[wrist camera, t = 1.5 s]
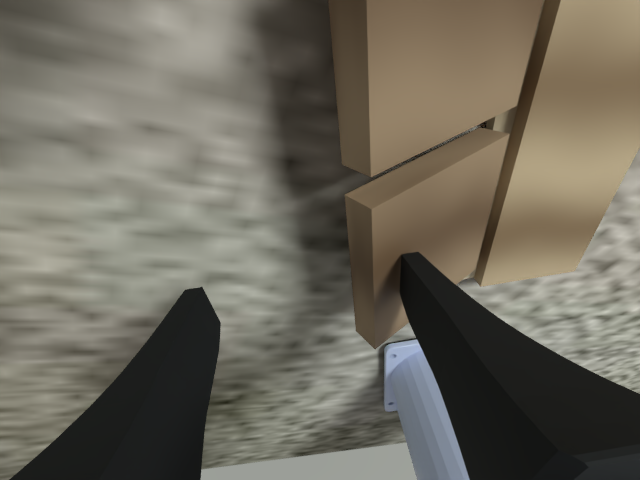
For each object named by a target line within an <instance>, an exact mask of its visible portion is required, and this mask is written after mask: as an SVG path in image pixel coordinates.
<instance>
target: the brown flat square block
mask: <svg viewBox="0 0 640 480" xmlns="http://www.w3.org/2000/svg"><path fill="white" fill-rule="evenodd" d="M509 135H510V134H509V133H504V132H499V131H495V130H490V129H485V128H480V127H479V128H477V129H475V130H473V131H471V132H469V133H467V134H465V135H463V136H461V137H459V138H457V139H455V140H453V141H451V142H449V143H447V144H445V145H443V146H441V147H439V148H437V149H435V150H433V151H431V152H429V153H427V154H425V155H423V156H421V157H419V158H417V159H415V160H413V161H411V162H409V163H407V164H405V165H403V166H401V167H399V168H397V169H395V170H393V171H391V172H389V173H387V174H385V175H383V176H381V177H379V178H377V179H375V180H373V181H371V182H369V183H367V184H365V185H363V186H361V187H359V188H357V189H355V190H353V191H351V192H349V193H347V194H345V205H346V217H347V229H348V241H349V253H350V265H351V277H352V288H353V300H354V312H355V324H356V331H357V332H358V333H359V334H360V335H361V336H362V337H363V338H364V339H365V340H366V341H367V342H368V343H369V344H370V345H371V346H372V347H373V348H374V349H376V348H377V347H379V346H380V345H381V344H382V343H384V342H385V341H386V340H387V339H389V338H390V337H391V336H392V335H394V334H395V333H396V332H397V331H399V330H400V329H401V328H402V327H404V326H405V325H406V324H407V323H409V320H408V318H407V315H406V312H405V309H404V306H403V303H402V300H401V296H400V273H401V254H407V253H413V252H419V253H421V254H422V255H423V256H424V257H425V258H426V259H427V260H428V261H429V262H431V263H432V264H433V265H434V266H435V267H436V268H437V269H438V270H439V271H440V272H442V273H443V274H444V275H445V276H446V277H447V278H448V279H450V280H451V281H452V282H453V283H454V284H455V285H456V284H458V283H459V282H460V281H461V280H463V279H464V278H465V277H466V276H468V275H469V274H470V273H471V272H473V271H474V270H475V269H476V265H477V261H478V257H479V253H480V249H481V245H482V241H483V237H484V233H485V229H486V225H487V221H488V217H489V214H490V210H491V206H492V202H493V198H494V194H495V190H496V186H497V182H498V178H499V174H500V170H501V166H502V162H503V158H504V154H505V150H506V146H507V142H508V139H509Z"/></svg>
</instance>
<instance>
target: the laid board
mask: <svg viewBox="0 0 640 480" xmlns="http://www.w3.org/2000/svg"><path fill="white" fill-rule="evenodd" d="M486 129H490V130H495V131H499V132H504V133H509V134H510V135H509V139H508V142H507V146H506V150H505V154H504V158H503V162H502V166H501V170H500V174H499V178H498V182H497V186H496V190H495V194H494V198H493V202H492V206H491V210H490V214H489V217H488V221H487V225H486V229H485V233H484V237H483V241H482V245H481V249H480V253H479V257H478V261H477V265H476V269H475V270H474V271H473V272H471V273H470V274H469V275H468V276H466V277H465V278H464V279H469V278H475V280H476V281H477V282H478V284H479V285H480V287H482V286H488V285H494V284H500V283H506V282H512V281H518V280H524V279H530V278H536V277H542V276H548V275H554V274H561V273H567V272H573V271H575V269H576V268H577V266H578V264H579V262H580V260H581V258H582V256H583V254H584V252H585V250H586V248H587V247H588V245H589V243H590V241H591V239H592V237H593V235H594V233H595V231H596V229H597V228H598V226H599V224H600V222H601V220H602V218H603V216H604V214H605V212H606V210H607V209H608V207H609V205H610V203H611V201H612V199H613V197H614V195H615V193H616V191H617V189H618V188H619V186H620V184H621V182H622V180H623V178H624V176H625V174H626V172H627V170H628V169H629V167H630V165H631V163H632V161H633V159H634V157H635V155H636V153H637V151H638V149H639V148H640V0H543V4H542V8H541V12H540V16H539V20H538V24H537V28H536V32H535V36H534V40H533V44H532V48H531V52H530V56H529V60H528V64H527V67H526V71H525V75H524V79H523V83H522V87H521V91H520V95H519V99H518V103H517V106H515V107H513V108H511V109H509V110H507V111H505V112H503V113H501V114H499V115H497V116H495V117H493V118H491V119H489V120H487V124H486Z"/></svg>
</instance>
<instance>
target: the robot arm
mask: <svg viewBox="0 0 640 480" xmlns="http://www.w3.org/2000/svg"><path fill="white" fill-rule="evenodd" d="M400 296H401V300H402V303H403V306H404V309H405V312H406V315H407V318H408V320H409V323H410V325H411V327H412V329H413V331H414V334H415V336H416V338H417V339H416V340H410V341H404V342H398V343H392V344H388V345H387V346H386V347H385V349H384V408H385V411H387V412H391V411H398V414H399V418H400V421H401V425H402V428H403V432H404V435H405V439H406V442H407V445H408V449H409V452H410V456H411V459H412V463H413V466H414V470H415V473H416V476H417V480H640V394H638V393H636V392H634V391H632V390H629V389H627V388H625V387H623V386H620V385H618V384H616V383H614V382H612V381H609V380H607V379H605V378H603V377H601V376H599V375H597V374H595V373H593V372H591V371H589V370H587V369H585V368H583V367H581V366H579V365H577V364H575V363H573V362H572V361H570V360H568V359H566V358H564V357H562V356H560V355H559V354H557V353H555V352H553V351H552V350H550V349H548V348H546V347H544V346H543V345H541V344H539V343H537V342H536V341H534V340H532V339H531V338H529V337H527V336H526V335H524V334H522V333H521V332H519V331H518V330H516V329H515V328H513V327H512V326H510V325H508V324H507V323H505V322H504V321H502V320H501V319H500V318H498V317H497V316H495V315H494V314H493V313H491V312H490V311H488V310H487V309H486V308H484V307H483V306H482V305H480V304H479V303H478V302H476V301H475V300H474V299H473V298H471V297H470V296H469V295H468V294H466V293H465V292H464V291H463V290H461V289H460V288H459V287H458V286H457V285H455V284H454V283H453V282H452V281H451V280H450V279H448V278H447V277H446V276H445V275H444V274H443V273H442V272H440V271H439V270H438V269H437V268H436V267H435V266H434V265H433V264H432V263H431V262H429V261H428V260H427V259H426V258H425V257H424V256H423V255H422V254H421V253H419V252H413V253H407V254H401V273H400ZM220 324H221V323H220V321H219V319H218V317H217V315H216V313H215V311H214V309H213V307H212V305H211V303H210V301H209V299H208V297H207V295H206V293H205V292H204V290H203V288H202V287H200V288H194V289H188V290H185V291H184V292H183V294H182V295H181V296H180V298H179V299H178V300H177V302H176V303H175V304H174V306H173V307H172V309H171V310H170V311H169V313H168V314H167V315H166V317H165V318H164V320H163V321H162V322H161V324H160V325H159V326H158V328H157V329H156V330H155V332H154V333H153V334H152V336H151V337H150V338H149V339H148V341H147V342H146V343H145V345H144V346H143V347H142V348H141V350H140V351H139V352H138V353H137V354H136V356H135V357H134V358H133V359H132V361H131V362H130V363H129V364H128V365H127V367H126V368H125V369H124V370H123V371H122V373H121V374H120V375H119V376H118V377H117V378H116V379H115V381H114V382H113V383H112V384H111V385H110V386H109V387H108V388H107V389H106V390H105V391H104V392H103V393H102V395H101V396H100V397H99V398H98V399H97V400H96V401H95V402H94V403H93V404H92V405H91V406H90V407H89V408H88V409H87V410H86V411H85V412H84V413H83V414H82V415H81V416H80V417H79V418H78V419H77V420H76V421H75V422H73V423H72V424H71V425H70V426H69V427H68V428H67V429H66V430H65V431H64V432H63V433H62V434H61V435H60V436H59V437H58V438H57V439H56V440H55V441H53V442H52V443H51V444H50V445H49V446H48V447H47V448H46V449H45V450H43V451H42V452H41V453H40V454H39V455H38V456H37V457H36V458H34V459H33V460H32V461H31V462H30V463H29V464H27V465H26V466H25V467H24V468H23V469H22V470H20V471H19V472H18V473H17V474H16V475H14V476H13V477H12V478H11V479H10V480H200V478H201V464H202V452H203V441H204V430H205V422H206V416H207V410H208V405H209V400H210V394H211V389H212V384H213V379H214V374H215V369H216V363H217V358H218V352H219V342H220Z"/></svg>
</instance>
